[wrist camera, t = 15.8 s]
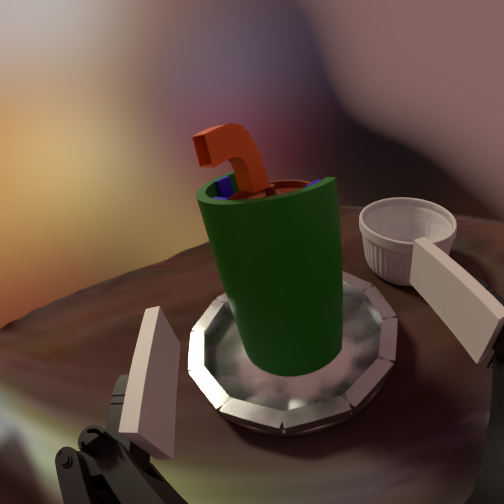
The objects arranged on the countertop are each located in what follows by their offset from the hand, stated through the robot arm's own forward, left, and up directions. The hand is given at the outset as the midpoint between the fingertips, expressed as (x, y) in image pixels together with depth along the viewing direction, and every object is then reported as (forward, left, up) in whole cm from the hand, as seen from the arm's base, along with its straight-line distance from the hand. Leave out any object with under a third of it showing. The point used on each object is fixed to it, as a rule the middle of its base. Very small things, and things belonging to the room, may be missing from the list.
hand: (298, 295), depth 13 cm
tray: (0, +8, -13) cm, 16 cm away
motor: (0, +8, -12) cm, 15 cm away
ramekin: (+18, +16, -14) cm, 28 cm away
